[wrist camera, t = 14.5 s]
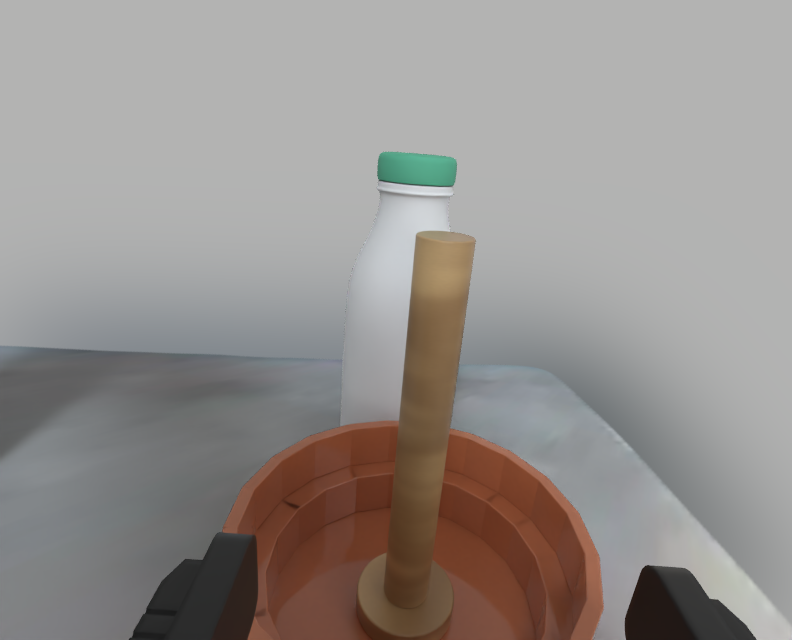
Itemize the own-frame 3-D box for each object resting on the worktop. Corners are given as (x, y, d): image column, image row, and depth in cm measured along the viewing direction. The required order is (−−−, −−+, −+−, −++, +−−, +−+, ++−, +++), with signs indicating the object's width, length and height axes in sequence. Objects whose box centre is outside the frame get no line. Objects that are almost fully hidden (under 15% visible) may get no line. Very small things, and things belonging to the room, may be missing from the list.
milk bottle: (430, 492, 30) (472, 159, 23) (320, 460, 32) (328, 146, 25) (455, 429, 36) (493, 159, 30) (363, 406, 39) (379, 149, 32)
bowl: (155, 821, 15) (134, 706, 13) (279, 488, 29) (278, 411, 27) (639, 855, 15) (691, 747, 13) (524, 507, 29) (540, 431, 27)
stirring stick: (350, 649, 19) (376, 242, 14) (360, 561, 24) (383, 220, 18) (456, 656, 19) (527, 255, 14) (447, 567, 24) (498, 230, 18)
